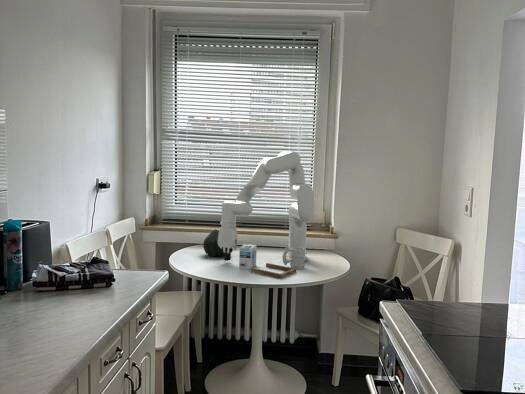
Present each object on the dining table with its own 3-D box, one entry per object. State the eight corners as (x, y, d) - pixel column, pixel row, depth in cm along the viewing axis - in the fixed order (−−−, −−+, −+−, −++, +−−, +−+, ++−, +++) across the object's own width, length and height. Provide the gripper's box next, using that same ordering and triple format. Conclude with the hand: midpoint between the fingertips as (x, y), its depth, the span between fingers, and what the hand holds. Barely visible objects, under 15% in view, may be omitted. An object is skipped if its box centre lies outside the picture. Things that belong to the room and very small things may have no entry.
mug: (306, 269, 227) (307, 246, 225) (282, 269, 226) (283, 245, 225) (303, 266, 234) (304, 243, 233) (281, 265, 233) (282, 242, 232)
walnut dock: (267, 266, 230) (267, 262, 229) (296, 272, 220) (296, 268, 220) (250, 272, 218) (250, 268, 218) (280, 278, 208) (281, 274, 208)
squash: (225, 250, 239) (229, 226, 248) (198, 249, 242) (203, 225, 251) (230, 263, 250) (234, 240, 259) (204, 262, 253) (209, 239, 262)
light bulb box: (251, 270, 222) (252, 248, 221) (238, 269, 223) (239, 247, 222) (256, 265, 232) (257, 244, 231) (243, 264, 233) (244, 243, 232)
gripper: (212, 224, 234) (211, 259, 236) (235, 227, 226) (234, 263, 227) (221, 222, 240) (220, 256, 242) (244, 226, 232) (243, 261, 234)
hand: (227, 260), depth 235 cm, fingers closed
